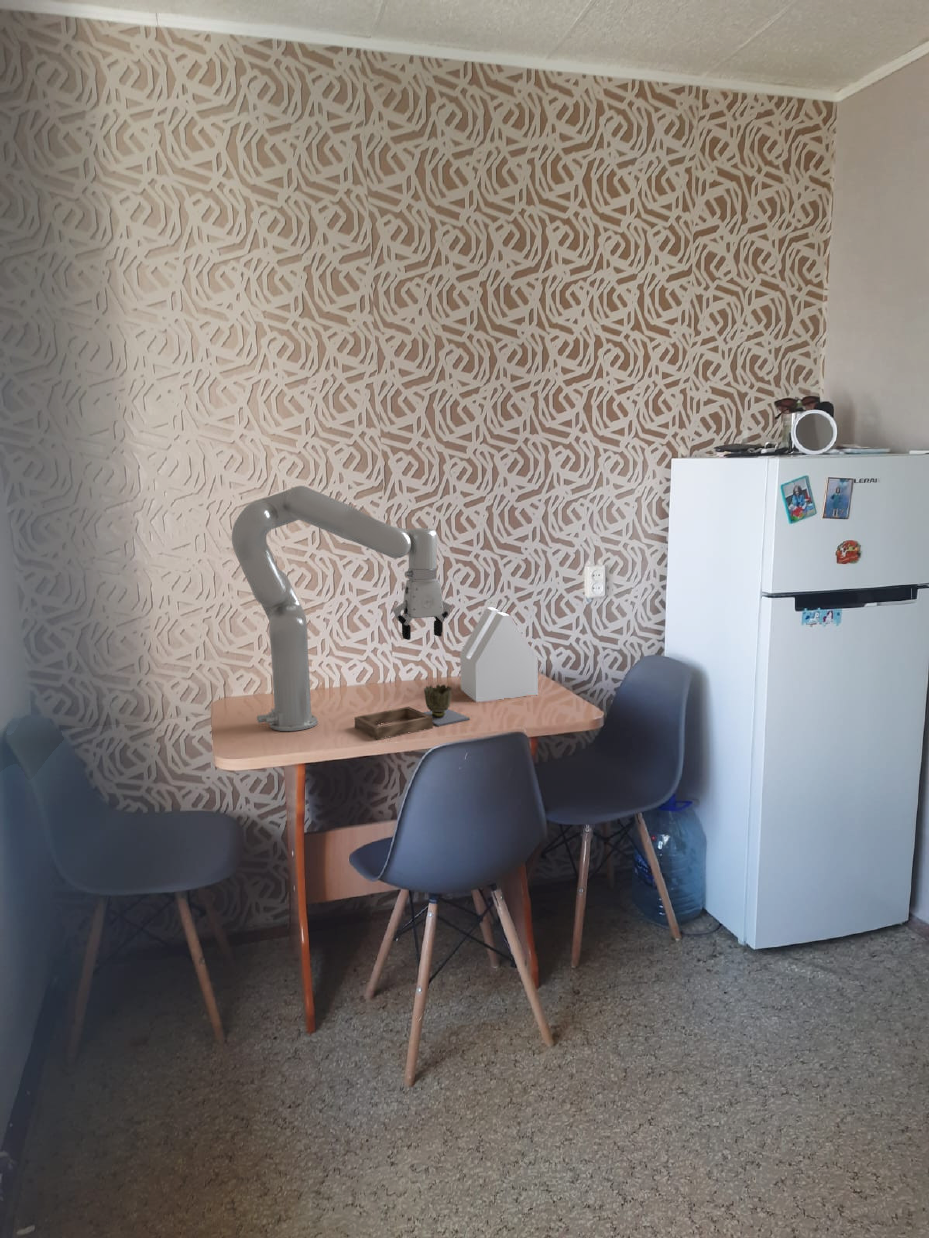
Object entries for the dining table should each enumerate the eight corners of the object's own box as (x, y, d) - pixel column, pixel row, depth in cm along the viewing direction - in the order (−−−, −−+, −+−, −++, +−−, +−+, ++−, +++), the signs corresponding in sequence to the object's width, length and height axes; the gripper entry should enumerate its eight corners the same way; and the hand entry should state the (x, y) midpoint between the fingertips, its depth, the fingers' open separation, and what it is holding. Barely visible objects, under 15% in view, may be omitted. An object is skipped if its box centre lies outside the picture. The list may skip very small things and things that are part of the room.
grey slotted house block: (476, 702, 245) (474, 617, 240) (460, 689, 259) (459, 609, 255) (537, 696, 250) (537, 613, 246) (519, 683, 265) (518, 605, 261)
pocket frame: (377, 740, 212) (376, 728, 211) (355, 728, 222) (354, 717, 222) (432, 728, 221) (432, 717, 220) (408, 717, 231) (408, 706, 231)
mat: (438, 726, 222) (438, 724, 222) (414, 716, 232) (414, 714, 232) (469, 719, 228) (469, 717, 228) (445, 709, 237) (445, 707, 237)
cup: (428, 721, 225) (427, 692, 223) (421, 714, 232) (421, 685, 230) (455, 718, 227) (454, 690, 225) (448, 711, 234) (447, 683, 232)
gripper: (400, 578, 218) (400, 642, 221) (457, 574, 227) (456, 636, 230) (387, 575, 225) (387, 638, 227) (443, 571, 234) (442, 632, 237)
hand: (422, 637), depth 229 cm, fingers open, 9 cm apart
